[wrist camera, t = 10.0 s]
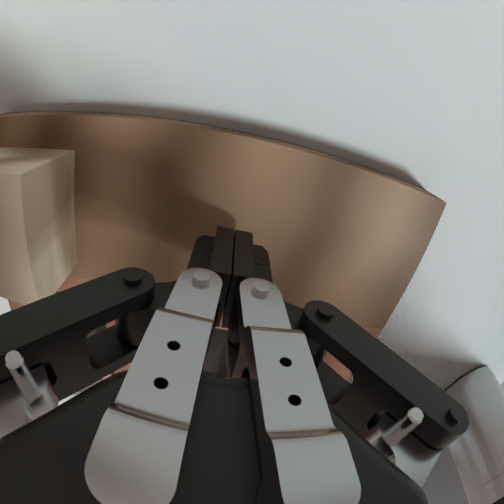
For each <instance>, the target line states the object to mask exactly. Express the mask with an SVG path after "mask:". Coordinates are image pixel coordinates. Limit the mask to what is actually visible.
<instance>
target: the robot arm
mask: <svg viewBox="0 0 504 504" xmlns="http://www.w3.org/2000/svg"><path fill="white" fill-rule="evenodd" d="M221 318H222V325H221V327H222V328H228V335H227V339H226V343H225V355H226V375H227V379H224V378H220V377H217V376H215V375H212V374H209V373H206V372H204V370H205V365H206V361H207V356H208V352H209V347H210V342H211V338H212V337H213V335H214V332H215V327H220V322H221ZM114 320H115V325H113V326H111V327H109V328H107V329H105V330H103V331H101V332H98V333H96V334H94V335H92V336H90V337H88V338H86V337H87V335H88V334H89V333H90V332H91V331H92V330H94V329H96V328H98V327H101V326H103V325H105V324H107V323H109V322H111V321H114ZM327 352H329V353H330V354H331V355H332V356H333V357H335V358H336V359H337V360H338V361H339V362H341V363H342V364H343V365H344V366H345V367H346V368H348V369H349V370H350V371H351V373H352V375H353V383H352V384H350V383H349V382H347V381H346V380H345V379H344V378H343V377H342V376H340V375H339V374H338V373H337V372H336V371H335V370H333V369H332V368H331V367H330V366H329V365H328V364H326V363H325V362H324V361H323V359H324V357H325V355H326V353H327ZM131 362H132V363H131ZM129 363H131V365H130V368H129V370H125V371H121V372H118V373H116V374H113V375H111V376H109V377H107V378H105V379H104V380H102V381H100V382H99V383H97V384H95V385H94V386H92V387H90V388H89V389H87V390H85V391H83V392H82V393H80V394H78V395H77V396H75V397H73V398H71V399H70V400H68V401H66V402H64V403H63V404H61V405H59V406H58V402H59V401H61V400H62V399H64V398H66V397H68V396H70V395H72V394H74V393H76V392H78V391H80V390H81V389H83V388H85V387H87V386H89V385H91V384H93V383H94V382H96V381H98V380H100V379H102V378H104V377H106V376H107V375H109V374H111V373H113V372H115V371H116V370H118V369H120V368H122V367H124V366H125V365H127V364H129ZM447 446H449V447H450V450H451V453H452V455H453V458H454V460H455V463H456V466H457V469H458V471H459V474H460V477H461V480H462V483H463V486H464V489H465V492H466V495H467V498H468V501H469V504H504V391H503V389H502V388H501V386H500V384H499V382H498V381H497V379H496V377H495V376H494V374H493V373H492V372H491V371H490V369H489V368H488V367H481V368H478V369H476V370H474V371H472V372H470V373H469V374H467V375H465V376H464V377H463V378H461V379H460V380H458V381H457V382H456V383H454V384H453V385H452V386H451V387H450V388H448V389H447V390H446V391H445V392H444V391H443V390H442V389H441V388H439V387H438V386H437V385H436V384H434V383H433V382H432V381H430V380H429V379H428V378H427V377H425V376H424V375H423V374H421V373H420V372H419V371H418V370H416V369H415V368H414V367H412V366H411V365H410V364H409V363H407V362H406V361H405V360H403V359H402V358H401V357H400V356H398V355H397V354H396V353H394V352H393V351H392V350H391V349H389V348H388V347H387V346H385V345H384V344H383V343H382V342H380V341H379V340H378V339H376V338H375V337H374V336H373V335H371V334H370V333H369V332H367V331H366V330H365V329H363V328H362V327H361V326H360V325H358V324H357V323H356V322H354V321H353V320H352V319H351V318H349V317H348V316H347V315H345V314H344V313H343V312H341V311H340V310H339V309H337V308H336V307H335V306H333V305H331V304H329V303H327V302H324V301H319V300H314V301H310V302H308V303H306V305H305V307H304V309H303V308H300V307H297V306H294V305H292V304H289V303H287V302H286V301H284V300H283V298H282V294H281V291H280V290H279V288H278V287H277V286H276V285H274V284H273V280H272V273H271V267H270V261H269V254H268V252H267V251H266V249H265V248H264V247H263V246H260V245H255V244H253V233H252V232H247V231H241V230H235V233H234V229H231V228H226V227H221V226H217V231H216V236H215V237H212V236H207V235H202V236H200V237H199V238H197V239H196V242H195V245H194V248H193V251H192V254H191V257H190V260H189V263H188V267H187V269H186V270H184V271H183V272H182V273H181V274H180V276H179V278H178V280H176V281H172V282H158V283H155V279H154V276H153V275H152V274H151V273H150V272H148V271H146V270H144V269H141V268H136V267H128V268H123V269H120V270H117V271H115V272H112V273H109V274H106V275H104V276H101V277H98V278H95V279H93V280H90V281H87V282H85V283H82V284H79V285H77V286H74V287H71V288H69V289H66V290H63V291H61V292H58V293H55V294H53V295H50V296H48V297H45V298H42V299H40V300H37V301H35V302H32V303H30V304H27V305H25V306H22V307H19V308H17V309H14V310H12V311H9V312H7V313H4V314H2V315H0V504H428V500H427V498H426V495H425V493H424V491H423V490H422V489H421V487H422V485H423V483H424V482H425V480H426V478H427V477H428V475H429V473H430V471H431V470H432V468H433V466H434V464H435V462H436V460H437V458H438V456H439V454H440V452H441V451H442V450H443V449H445V448H446V447H447Z"/></svg>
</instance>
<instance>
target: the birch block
mask: <svg viewBox="0 0 504 504" xmlns="http://www.w3.org/2000/svg"><path fill="white" fill-rule="evenodd" d="M74 167H75V151H74V150H60V149H44V148H19V147H0V296H1V297H4V298H6V299H9V300H11V301H14V302H16V303H19V304H22V305H24V306H25V305H27V304H30V303H32V302H35V301H37V300H40V299H42V298H45V297H48V296H50V295H53V294H55V293H56V291H57V290H58V289H59V287H60V286H61V285H62V284H63V282H64V281H65V280H66V278H67V277H68V276H69V275H70V273H71V272H72V271H73V270H74V268H75V267H76V266H77V265H78V261H77V250H76V237H75V217H74Z"/></svg>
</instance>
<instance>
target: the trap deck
mask: <svg viewBox="0 0 504 504" xmlns="http://www.w3.org/2000/svg"><path fill="white" fill-rule="evenodd" d="M0 147H19V148H44V149H60V150H74V151H75V167H74V217H75V237H76V250H77V261H78V265H77V266H76V267H75V268H74V270H73V271H72V272H71V273H70V275H69V276H68V277H67V278H66V280H65V281H64V282H63V284H62V285H61V286H60V287H59V289H58V290H57V291H56V293H58V292H61V291H63V290H66V289H69V288H71V287H74V286H77V285H79V284H82V283H85V282H87V281H90V280H93V279H95V278H98V277H101V276H104V275H106V274H109V273H112V272H115V271H117V270H120V269H123V268H128V267H136V268H141V269H144V270H146V271H148V272H150V273H151V274H152V275H153V276H154V279H155V283H158V282H172V281H176V280H178V278H179V276H180V274H181V273H182V272H183V271H184V270H186V269H187V267H188V263H189V260H190V257H191V254H192V251H193V248H194V245H195V242H196V239H197V238H199V237H200V236H202V235H207V236H212V237H215V236H216V231H217V226H221V227H226V228H231V229H234V233H235V230H241V231H247V232H252V233H253V244H255V245H260V246H263V247H264V248H265V249H266V251H267V252H268V254H269V261H270V267H271V273H272V280H273V284H274V285H276V286H277V287H278V288H279V290H280V291H281V294H282V298H283V300H284V301H286V302H287V303H289V304H292V305H294V306H297V307H300V308H303V309H304V307H305V305H306V303H308V302H310V301H314V300H319V301H324V302H327V303H329V304H331V305H333V306H335V307H336V308H337V309H339V310H340V311H341V312H343V313H344V314H345V315H347V316H348V317H349V318H351V319H352V320H353V321H354V322H356V323H357V324H358V325H360V326H361V327H362V328H363V329H365V330H366V331H367V332H369V333H370V334H371V335H373V336H374V337H375V338H377V336H378V335H379V333H380V332H381V330H382V329H383V327H384V325H385V324H386V322H387V321H388V319H389V317H390V316H391V314H392V312H393V311H394V309H395V307H396V305H397V304H398V302H399V300H400V299H401V297H402V295H403V293H404V291H405V290H406V288H407V286H408V284H409V282H410V280H411V279H412V277H413V275H414V273H415V271H416V269H417V267H418V265H419V263H420V261H421V259H422V257H423V255H424V253H425V251H426V249H427V247H428V244H429V242H430V240H431V238H432V236H433V234H434V231H435V229H436V227H437V224H438V222H439V220H440V217H441V215H442V213H443V210H444V208H445V205H446V202H444V201H443V200H441V199H440V198H438V197H436V196H435V195H433V194H432V193H430V192H428V191H427V190H424V189H422V188H420V187H417V186H415V185H412V184H410V183H407V182H405V181H403V180H400V179H397V178H395V177H392V176H390V175H387V174H384V173H382V172H379V171H376V170H374V169H371V168H368V167H365V166H362V165H359V164H356V163H354V162H351V161H348V160H344V159H341V158H338V157H335V156H332V155H329V154H325V153H322V152H319V151H315V150H312V149H308V148H305V147H301V146H298V145H294V144H290V143H287V142H283V141H279V140H275V139H271V138H267V137H262V136H258V135H254V134H249V133H245V132H240V131H235V130H230V129H225V128H220V127H215V126H209V125H203V124H197V123H191V122H185V121H178V120H171V119H164V118H156V117H147V116H137V115H127V114H114V113H99V112H73V111H40V112H15V113H5V114H1V115H0ZM8 301H9V304H10V307H11V310H14V309H17V308H19V307H22V306H24V305H22V304H19V303H16V302H14V301H11V300H9V299H8ZM113 325H115V320H114V321H111V322H109V323H107V324H105V325H103V326H101V327H98V328H96V329H94V330H92V331H91V332H90V333H89V334H88V335H87V337H86V338H88V337H90V336H92V335H94V334H96V333H98V332H101V331H103V330H105V329H107V328H109V327H111V326H113ZM221 325H222V318H221V322H220V327H215V332H214V335H213V337H212V338H211V342H210V347H209V352H208V356H207V361H206V365H205V370H204V372H206V373H209V374H212V375H215V376H217V377H220V378H224V379H227V375H226V355H225V343H226V339H227V335H228V328H222V327H221ZM323 361H324V362H325V363H326V364H328V365H329V366H330V367H331V368H332V369H333V370H335V371H336V372H337V373H338V374H339V375H340V376H342V377H343V378H344V379H345V380H346V381H347V380H348V378H349V377H350V376H351V374H352V373H351V371H350V370H349V369H348V368H346V367H345V366H344V365H343V364H342V363H341V362H339V361H338V360H337V359H336V358H335V357H333V356H332V355H331V354H330V353H329V352H327V353H326V355H325V357H324V359H323ZM131 363H132V362H131ZM131 363H129V364H127V365H125V366H124V367H122V368H120V369H118V370H116V371H115V372H113V373H111V374H109V375H107V376H106V377H104V378H102V379H105V378H107V377H109V376H111V375H113V374H116V373H118V372H121V371H125V370H129V368H130V365H131Z"/></svg>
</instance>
